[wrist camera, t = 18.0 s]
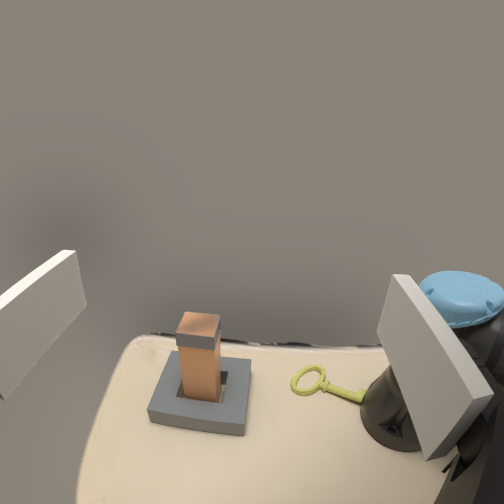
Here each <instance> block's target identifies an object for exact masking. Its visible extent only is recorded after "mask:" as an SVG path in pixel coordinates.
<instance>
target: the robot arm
mask: <svg viewBox="0 0 504 504" xmlns="http://www.w3.org/2000/svg"><path fill="white" fill-rule="evenodd" d="M86 306H87V303H86V299H85V295H84V290H83V285H82V280H81V276H80V270H79V265H78V259H77V253H76V251H71V250H63V251H61V252H59V253H58V254H57V255H55V256H54V257H52V258H51V259H49V260H48V261H46V262H45V263H44V264H42V265H41V266H40V267H38V268H37V269H35V270H34V271H32V272H31V273H30V274H28V275H27V276H26V277H24V278H23V279H22V280H20V281H19V282H18V283H16V284H15V285H14V286H13V287H11V288H10V289H9V290H7V291H6V292H5V293H4V294H2V295H1V296H0V398H1V399H2V400H4V401H7V399H8V398H9V396H10V395H11V394H12V393H13V391H14V390H15V389H16V388H17V386H18V385H19V384H20V382H21V381H22V380H23V379H24V377H25V376H26V375H27V374H28V372H29V371H30V370H31V369H32V367H33V366H34V365H35V364H36V363H37V361H38V360H39V359H40V358H41V357H42V355H43V354H44V353H45V352H46V351H47V350H48V348H49V347H50V346H51V345H52V344H53V343H54V341H55V340H56V339H57V338H58V337H59V336H60V335H61V334H62V332H63V331H64V330H65V329H66V328H67V327H68V326H69V325H70V323H71V322H72V321H73V320H74V319H75V318H76V317H77V316H78V315H79V313H80V312H81V311H82V310H83V309H84V308H85V307H86ZM376 332H377V334H378V336H379V339H380V341H381V343H382V346H383V348H384V350H385V353H386V355H387V358H388V360H389V362H390V365H389V367H388V368H387V369H386V370H385V371H384V372H383V373H382V374H381V376H380V377H379V378H377V379H376V380H375V381H374V382H373V383H372V384H371V385H370V387H369V388H368V390H367V392H366V394H365V396H364V398H363V401H362V404H361V418H362V421H363V424H364V426H365V427H366V429H367V431H368V432H369V433H370V434H371V435H372V436H373V437H374V438H375V439H376V440H377V441H378V442H380V443H381V444H383V445H385V446H387V447H389V448H392V449H395V450H399V451H419V450H422V451H423V454H424V458H425V461H428V460H432V459H436V458H440V457H444V456H446V455H447V454H448V453H449V452H450V451H451V450H452V449H453V447H454V446H455V445H457V448H458V450H459V453H458V454H457V455H456V456H455V457H454V458H453V459H452V461H451V462H450V463H449V464H448V465H447V466H446V467H445V468H444V469H443V471H442V472H443V473H445V472H446V471H447V470H448V469H449V468H450V467H451V468H450V470H449V473H448V475H447V477H446V480H445V482H444V484H443V486H442V488H441V491H440V493H439V495H438V497H437V499H436V501H435V503H434V504H504V291H503V289H502V288H501V287H500V286H499V285H498V284H497V283H495V282H491V280H490V279H488V278H486V277H483V276H480V275H477V274H473V273H469V272H462V271H443V272H437V273H434V274H431V275H430V276H428V277H426V278H425V279H424V280H423V281H422V282H421V283H420V285H419V287H418V286H417V284H416V283H415V282H414V281H413V279H412V278H411V277H410V276H409V275H399V274H393V275H392V278H391V282H390V286H389V290H388V294H387V297H386V301H385V304H384V308H383V311H382V315H381V318H380V321H379V325H378V328H377V331H376Z"/></svg>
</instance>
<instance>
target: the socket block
mask: <svg viewBox="0 0 504 504" xmlns="http://www.w3.org/2000/svg"><path fill="white" fill-rule="evenodd" d="M220 365H221V384H226V386H225V391H224V397H223V402H222V403H215V402H207V401H200V400H193V399H186V398H182V396H183V393H184V388H183V381H182V374H181V367H180V359H179V352H178V351H171V353H170V356H169V358H168V360H167V363H166V365H165V367H164V370H163V372H162V374H161V377H160V379H159V381H158V384H157V386H156V389H155V391H154V393H153V396H152V398H151V400H150V403H149V405H148V408H147V411H148V415H149V418H150V421H151V422H154V423H159V424H164V425H169V426H174V427H179V428H185V429H191V430H197V431H204V432H211V433H219V434H228V435H238V436H244V428H245V419H246V410H247V401H248V392H249V383H250V373H251V359H240V358H230V357H220Z"/></svg>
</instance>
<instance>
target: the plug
mask: <svg viewBox="0 0 504 504" xmlns="http://www.w3.org/2000/svg"><path fill="white" fill-rule="evenodd" d="M220 329H221V315H214V314H204V313H195V312H185V313H184V315H183V317H182V319H181V322H180V323H179V326H178V328H177V330H176V332H175V335H176V344H177V346H178V352H179V359H180V367H181V374H182V381H183V388H184V395H185V398H186V399H193V400H200V401H207V402H215V403H218V401H219V396H220V391H221V365H220Z"/></svg>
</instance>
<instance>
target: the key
mask: <svg viewBox="0 0 504 504" xmlns="http://www.w3.org/2000/svg"><path fill="white" fill-rule="evenodd" d="M313 370H314V371H318V372H319V373H320V374H321V378H320V379H319V381H318V382H317V383H316V384H315V385H314V386H312V387H310V388H308V389H299V388H297V387H296V385H297V381H298V380H299V378H300V377H301V376H302V375H303V374H305V373H307V372H309V371H313ZM324 380H325V370H324V369H323V368H322V367H321V366H318V365H310V366H307V367H304V368H302V369H301V370H300V371H298V372H297V373H296V374H295V376H294V377H293V378H292V380H291V389H292V391H293V392H294V393H296V394H298V395H301V396H308V395H311V394H313V393H315V392H316V391H317V390H318V389H319V388H321V389H322V391H323V392H326V391H329V392H331V393H334V394H337V395H340V396H342V397H345V398H348V399H351V400H354V401H357V402H360V403H361V402H362V400H363V398H364V395H365V393H366V391H367V390H365V391H363V389H361V388H360V390H359V392H358V393H354V392H351V391H348V390H345V389H342V388H340V387H337V386H334V385H331V384H330V382H329V381H326V382H324Z"/></svg>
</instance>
